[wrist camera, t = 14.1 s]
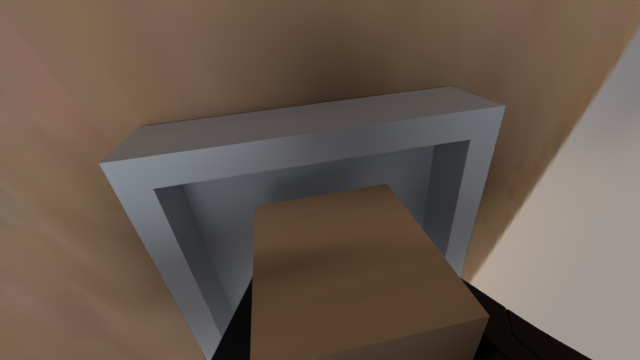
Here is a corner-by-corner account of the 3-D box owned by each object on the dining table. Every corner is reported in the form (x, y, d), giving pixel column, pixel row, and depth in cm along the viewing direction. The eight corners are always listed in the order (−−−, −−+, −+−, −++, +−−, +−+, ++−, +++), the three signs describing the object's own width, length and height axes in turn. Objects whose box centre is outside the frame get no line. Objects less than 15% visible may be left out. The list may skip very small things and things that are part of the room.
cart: (421, 347, 22) (442, 391, 19) (239, 392, 20) (236, 446, 18) (472, 83, 11) (534, 101, 9) (111, 130, 10) (58, 169, 7)
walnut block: (382, 273, 12) (450, 415, 8) (276, 295, 11) (286, 462, 7) (387, 183, 10) (489, 316, 5) (254, 205, 9) (250, 373, 5)
